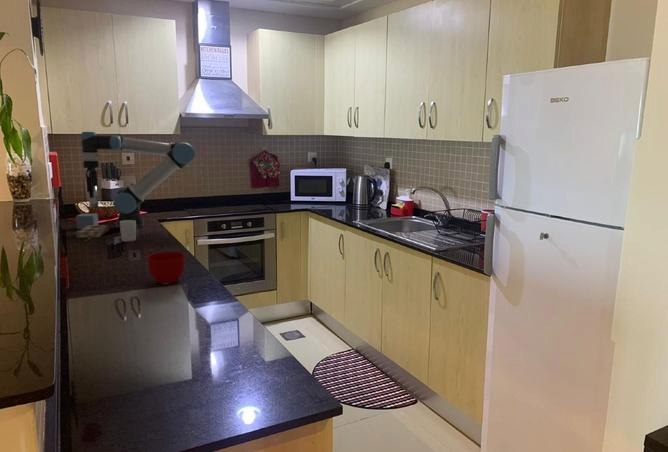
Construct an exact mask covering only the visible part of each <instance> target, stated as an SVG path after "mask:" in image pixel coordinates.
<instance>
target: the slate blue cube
mask: <svg viewBox="0 0 668 452" xmlns="http://www.w3.org/2000/svg"><path fill="white" fill-rule="evenodd" d="M98 214H99V213H80V214H78V215H76V216H75V218H76V219H75V220H76V230H77V229H82V228H84V227H86V226H88V225H99V215H98Z"/></svg>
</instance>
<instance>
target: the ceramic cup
mask: <svg viewBox="0 0 668 452" xmlns="http://www.w3.org/2000/svg"><path fill="white" fill-rule="evenodd" d="M147 263H148V270H149V273H150V275H151V277H152V278H153V279H154V280H155V281H156V282H157V284H159V283H173V282H176V281H178V280H179V279H180V278H181V276H182V275H183V272H184V267H185V253H183V252H177V251H165V252H162V251H161V252H156V253H153V254H150V255H147ZM176 283H177V282H176ZM173 284H174V283H173Z"/></svg>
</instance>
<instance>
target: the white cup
mask: <svg viewBox="0 0 668 452" xmlns="http://www.w3.org/2000/svg"><path fill="white" fill-rule="evenodd" d="M119 223H120V228H119V229H120V236H121V242H125V243H126V242H135V241H136V240H137V228H136V221H135V220H124V221H120V222H119Z"/></svg>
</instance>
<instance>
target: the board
mask: <svg viewBox="0 0 668 452" xmlns="http://www.w3.org/2000/svg"><path fill="white" fill-rule="evenodd" d="M108 231H110V227H109V224H100V225H99V224H98V225H88V226H86V227H84V228H82V229H81V230H77V231H76V232H75V235H76V236H75V238H78V239H79V238H99V237H101V236H102V235H104V234H105V233H107V232H108Z"/></svg>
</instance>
